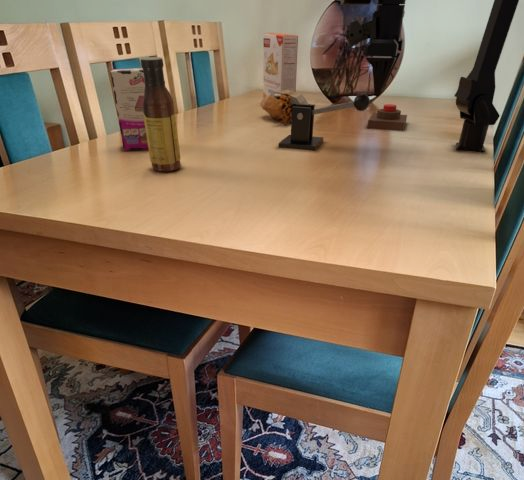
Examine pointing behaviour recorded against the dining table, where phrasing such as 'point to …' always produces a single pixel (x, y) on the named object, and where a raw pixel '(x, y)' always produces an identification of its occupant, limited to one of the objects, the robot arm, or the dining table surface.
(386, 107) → the button
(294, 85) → the cracker box
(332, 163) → the dining table surface
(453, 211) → the dining table surface
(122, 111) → the candy bar box
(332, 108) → the lever
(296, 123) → the bracket
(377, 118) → the button block
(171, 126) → the sauce bottle
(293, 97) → the nautilus
